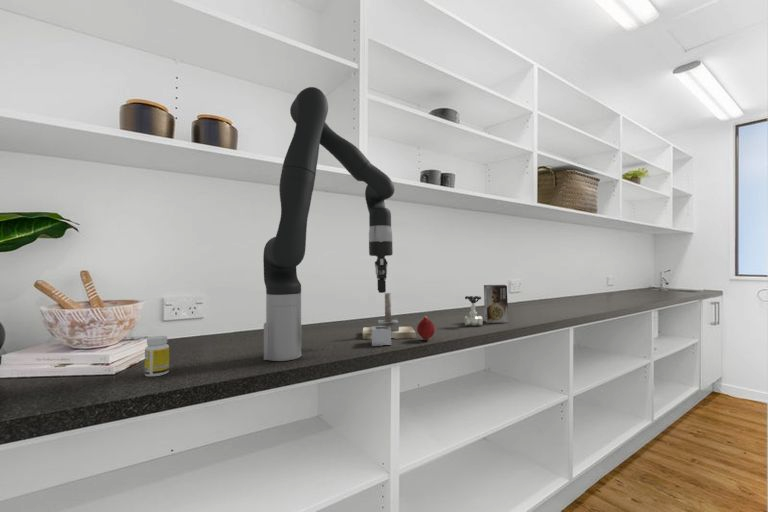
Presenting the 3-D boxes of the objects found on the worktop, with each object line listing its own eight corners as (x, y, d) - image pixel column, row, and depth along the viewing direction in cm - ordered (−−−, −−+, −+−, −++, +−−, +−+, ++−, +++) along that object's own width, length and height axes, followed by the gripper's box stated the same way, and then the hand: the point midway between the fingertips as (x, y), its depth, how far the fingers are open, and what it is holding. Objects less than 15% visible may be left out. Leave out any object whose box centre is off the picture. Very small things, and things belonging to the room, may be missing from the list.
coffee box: (505, 320, 158) (504, 284, 159) (508, 322, 152) (507, 285, 152) (484, 320, 159) (483, 284, 160) (486, 322, 153) (486, 285, 153)
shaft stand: (362, 339, 120) (362, 294, 120) (363, 332, 132) (362, 292, 132) (415, 338, 121) (414, 294, 121) (411, 331, 133) (410, 291, 133)
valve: (483, 327, 142) (483, 297, 142) (467, 327, 142) (466, 297, 142) (479, 324, 148) (479, 295, 149) (463, 324, 148) (463, 296, 149)
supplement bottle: (173, 370, 84) (173, 335, 85) (161, 376, 80) (161, 339, 80) (152, 371, 84) (153, 335, 84) (139, 377, 79) (140, 339, 80)
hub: (371, 345, 109) (371, 329, 109) (371, 341, 115) (371, 326, 115) (391, 345, 109) (391, 329, 110) (390, 341, 115) (389, 326, 116)
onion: (438, 339, 118) (437, 315, 118) (430, 342, 113) (429, 317, 113) (422, 337, 121) (422, 314, 121) (414, 340, 116) (413, 316, 116)
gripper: (368, 242, 120) (369, 290, 120) (368, 239, 106) (369, 293, 105) (390, 242, 121) (391, 289, 120) (393, 238, 106) (395, 293, 106)
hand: (381, 291), depth 113 cm, fingers open, 8 cm apart
